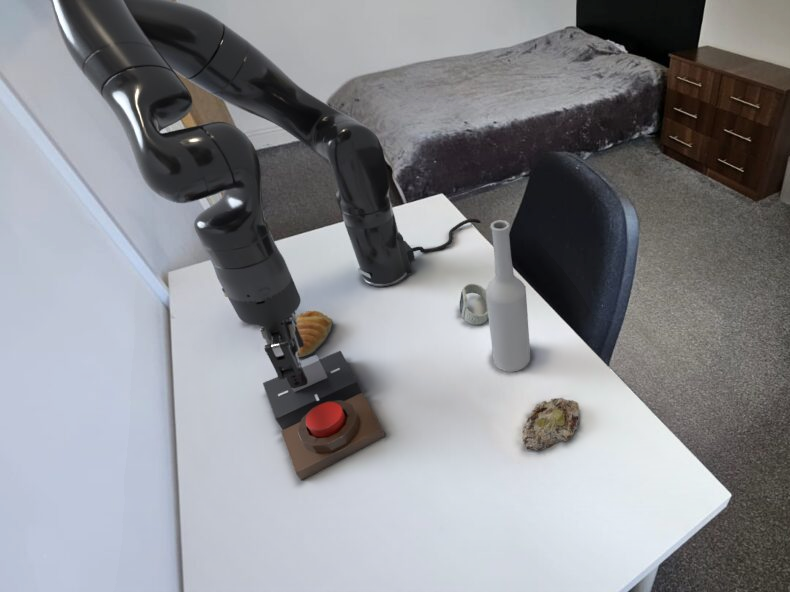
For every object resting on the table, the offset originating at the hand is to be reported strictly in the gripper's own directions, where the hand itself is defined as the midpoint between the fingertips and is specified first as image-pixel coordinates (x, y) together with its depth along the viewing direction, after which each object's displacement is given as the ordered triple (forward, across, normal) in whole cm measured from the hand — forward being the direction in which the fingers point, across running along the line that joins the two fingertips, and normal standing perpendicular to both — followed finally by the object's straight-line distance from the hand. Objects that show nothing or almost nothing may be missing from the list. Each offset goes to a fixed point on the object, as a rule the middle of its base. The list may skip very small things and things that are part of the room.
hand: (298, 365), depth 72 cm
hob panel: (+8, 0, 0) cm, 8 cm away
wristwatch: (+7, -9, +30) cm, 32 cm away
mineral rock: (+7, +22, +32) cm, 40 cm away
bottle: (+7, +6, +32) cm, 33 cm away
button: (+4, +10, +2) cm, 11 cm away
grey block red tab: (+5, 0, 0) cm, 5 cm away
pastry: (+8, -15, +1) cm, 16 cm away
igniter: (+8, +10, +2) cm, 12 cm away
